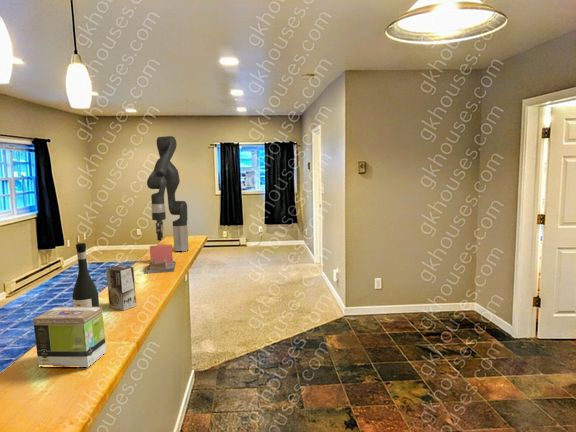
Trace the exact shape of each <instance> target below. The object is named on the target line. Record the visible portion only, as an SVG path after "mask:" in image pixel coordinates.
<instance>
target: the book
mask: <svg viewBox="0 0 576 432" xmlns="http://www.w3.org/2000/svg"><path fill="white" fill-rule="evenodd" d="M149 256H150V260H151V259H152V257H155V263H158V262H164V259H165V256H167V262H171V261H174V256H173V245H172V244H161V245H150V246H149Z"/></svg>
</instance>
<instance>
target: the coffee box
mask: <svg viewBox="0 0 576 432" xmlns="http://www.w3.org/2000/svg"><path fill="white" fill-rule="evenodd" d="M134 267H135V266H129V265H128V266H127V265H123V264H122V265H121V264H118V265H113V266H111V267H108V268H105V275H106V284H107V293H108V294H107V295H108V303H109V308H111V309H116V310H121V311H126V310H129V309H132V308H134V307H135V308H136V307H137V298H136V286H135V285H136V284H135V283H136V282H135V271H134V270H135V269H134Z"/></svg>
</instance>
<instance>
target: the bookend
mask: <svg viewBox="0 0 576 432" xmlns="http://www.w3.org/2000/svg"><path fill="white" fill-rule="evenodd" d="M164 263H165V268H166V267H172V266H173V262H168V263H167V256H165V259H164Z"/></svg>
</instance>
